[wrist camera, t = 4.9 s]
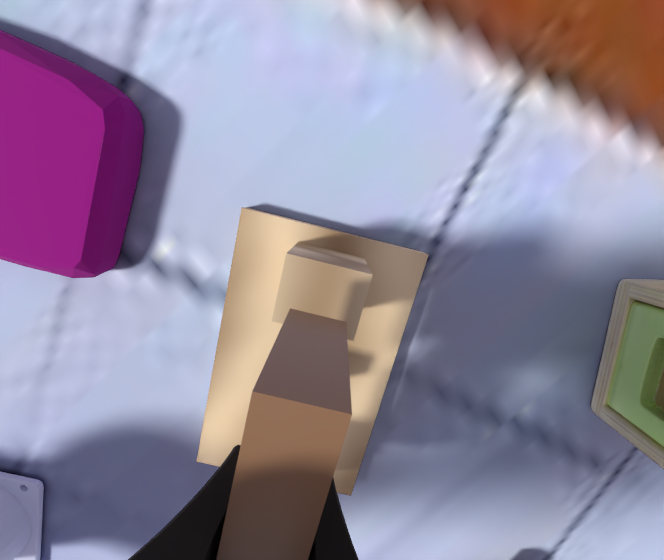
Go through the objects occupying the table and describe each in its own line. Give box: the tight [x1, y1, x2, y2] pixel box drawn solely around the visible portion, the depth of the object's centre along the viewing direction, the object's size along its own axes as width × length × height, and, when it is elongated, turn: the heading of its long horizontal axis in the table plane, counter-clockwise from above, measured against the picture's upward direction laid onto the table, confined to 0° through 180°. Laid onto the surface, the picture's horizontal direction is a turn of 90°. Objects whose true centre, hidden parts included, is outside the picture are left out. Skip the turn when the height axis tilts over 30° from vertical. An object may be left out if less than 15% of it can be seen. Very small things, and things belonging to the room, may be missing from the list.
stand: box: [196, 207, 428, 495], centre depth 17 cm, size 10×16×5 cm, turn 166°
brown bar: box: [216, 308, 352, 560], centre depth 10 cm, size 2×12×5 cm, turn 166°
